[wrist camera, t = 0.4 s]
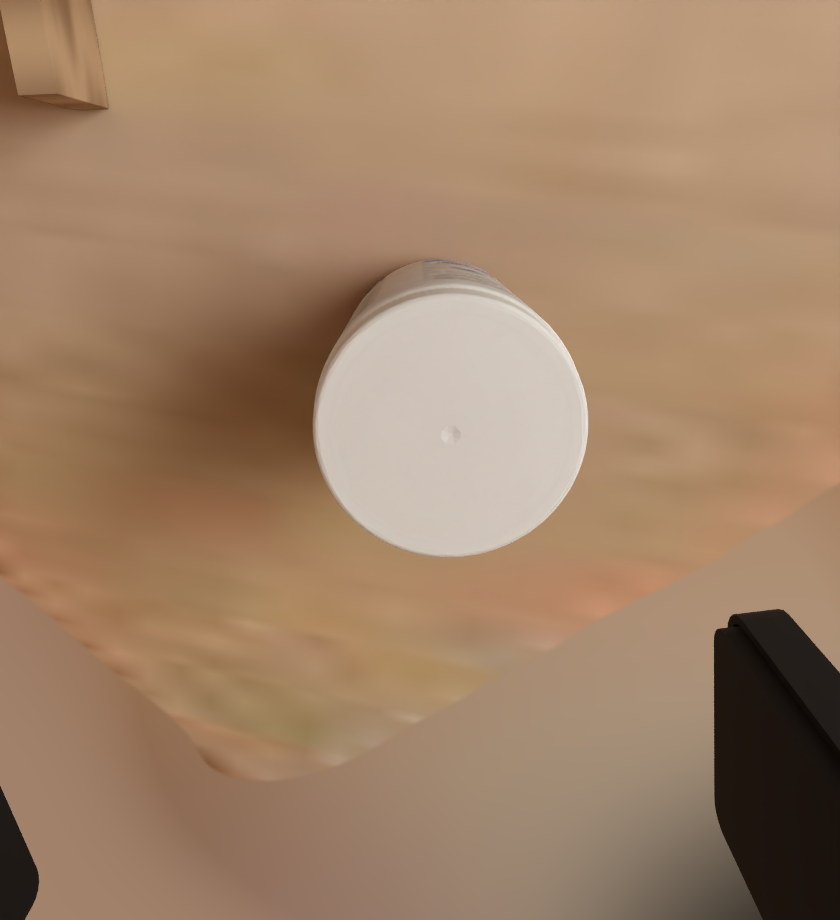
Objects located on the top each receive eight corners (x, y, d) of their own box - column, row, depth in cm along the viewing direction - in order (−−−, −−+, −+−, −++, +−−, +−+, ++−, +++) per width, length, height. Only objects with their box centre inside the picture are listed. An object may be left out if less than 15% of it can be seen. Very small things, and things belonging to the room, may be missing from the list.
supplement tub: (400, 465, 40) (387, 607, 26) (313, 312, 37) (245, 380, 23) (560, 386, 38) (638, 493, 24) (482, 219, 35) (519, 233, 21)
